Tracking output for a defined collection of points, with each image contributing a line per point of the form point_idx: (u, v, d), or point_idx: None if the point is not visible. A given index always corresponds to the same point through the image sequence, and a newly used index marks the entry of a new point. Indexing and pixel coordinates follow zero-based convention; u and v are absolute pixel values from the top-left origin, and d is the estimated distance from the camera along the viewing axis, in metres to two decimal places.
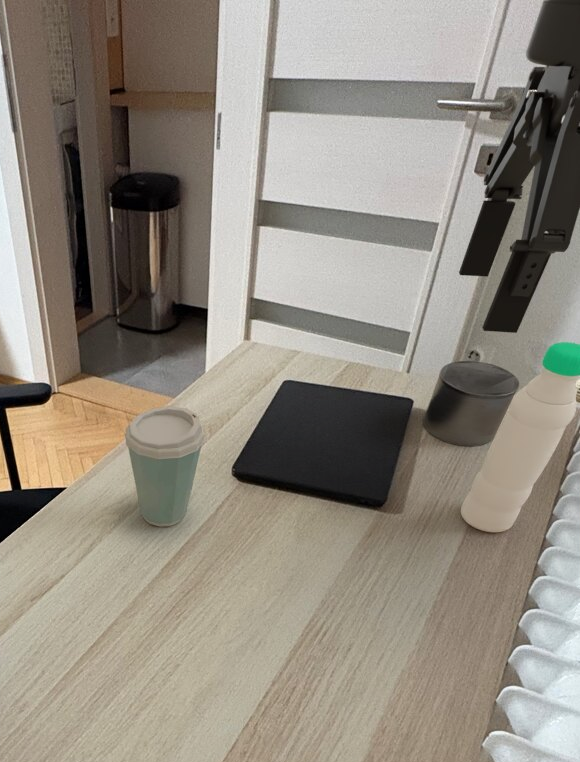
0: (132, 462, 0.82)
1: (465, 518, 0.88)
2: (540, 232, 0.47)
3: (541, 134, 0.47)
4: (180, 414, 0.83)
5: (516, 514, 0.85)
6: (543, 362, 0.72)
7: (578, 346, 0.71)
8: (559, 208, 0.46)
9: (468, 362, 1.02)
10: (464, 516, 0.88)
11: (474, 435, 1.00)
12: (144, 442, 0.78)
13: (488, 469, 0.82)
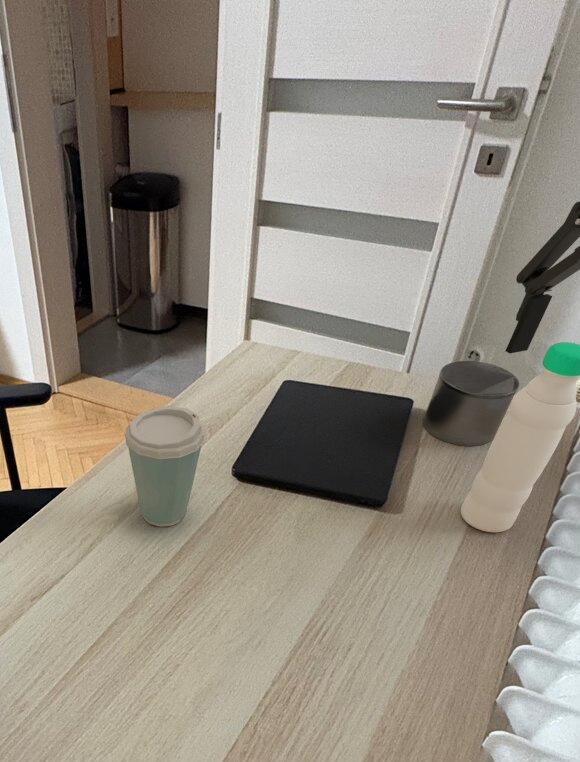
0: (132, 462, 0.82)
1: (465, 518, 0.88)
2: None
3: None
4: (180, 414, 0.83)
5: (516, 514, 0.85)
6: (543, 362, 0.72)
7: (578, 346, 0.71)
8: None
9: (468, 362, 1.02)
10: (464, 516, 0.88)
11: (474, 435, 1.00)
12: (144, 442, 0.78)
13: (488, 469, 0.82)
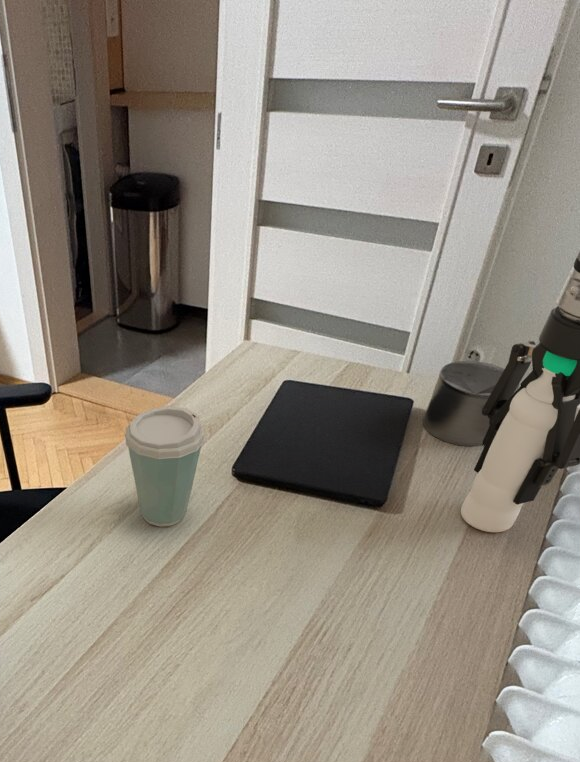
0: (132, 462, 0.82)
1: (465, 518, 0.88)
2: (567, 461, 0.73)
3: (560, 397, 0.72)
4: (180, 414, 0.83)
5: (516, 514, 0.85)
6: (543, 362, 0.72)
7: None
8: (579, 448, 0.73)
9: (468, 362, 1.02)
10: (464, 516, 0.88)
11: (474, 435, 1.00)
12: (144, 442, 0.78)
13: (488, 469, 0.82)
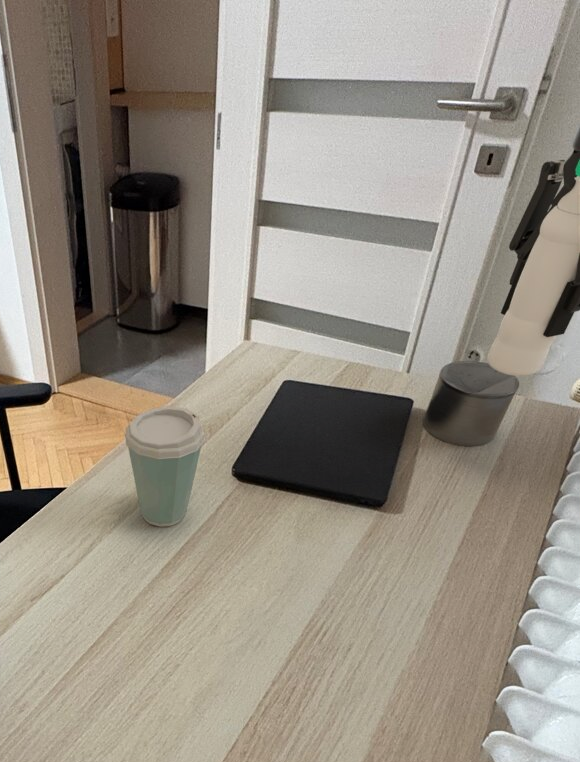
0: (132, 462, 0.82)
1: (492, 364, 0.86)
2: None
3: None
4: (180, 414, 0.83)
5: (545, 353, 0.83)
6: (576, 171, 0.71)
7: None
8: None
9: (468, 362, 1.02)
10: (491, 361, 0.86)
11: (474, 435, 1.00)
12: (144, 442, 0.78)
13: (517, 303, 0.80)
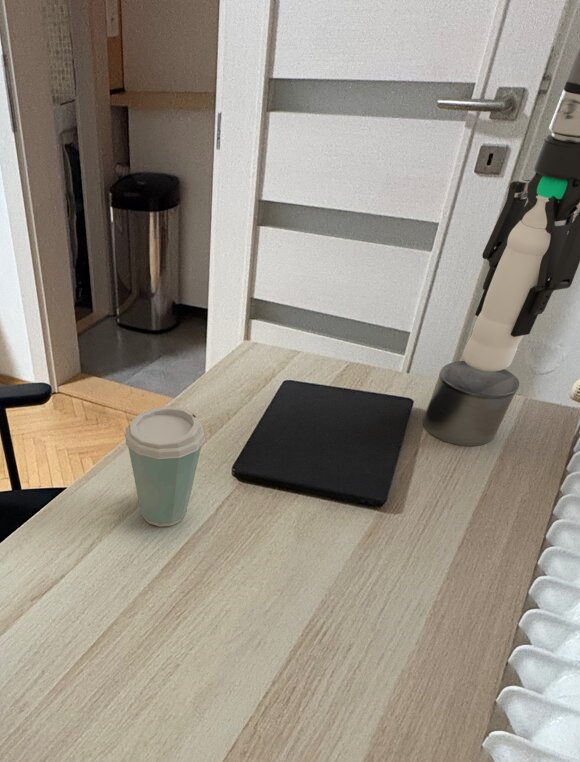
0: (132, 462, 0.82)
1: (467, 360, 0.96)
2: (559, 282, 0.82)
3: (553, 220, 0.80)
4: (180, 414, 0.83)
5: (513, 351, 0.93)
6: (537, 190, 0.81)
7: None
8: (569, 268, 0.81)
9: None
10: (466, 358, 0.96)
11: (474, 435, 1.00)
12: (144, 442, 0.78)
13: (487, 305, 0.90)
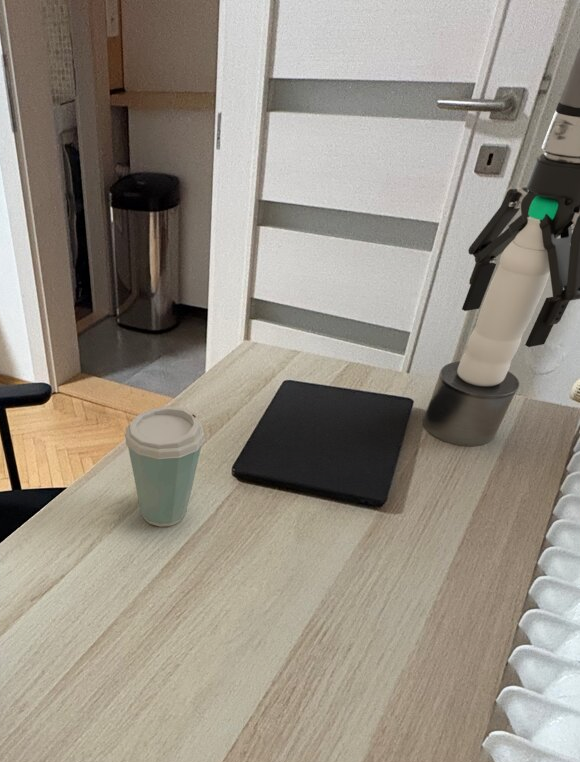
0: (132, 462, 0.82)
1: (461, 375, 0.98)
2: (575, 290, 0.80)
3: (551, 234, 0.81)
4: (180, 414, 0.83)
5: (506, 367, 0.95)
6: (528, 212, 0.82)
7: None
8: None
9: None
10: (460, 373, 0.98)
11: (474, 435, 1.00)
12: (144, 442, 0.78)
13: (481, 322, 0.92)
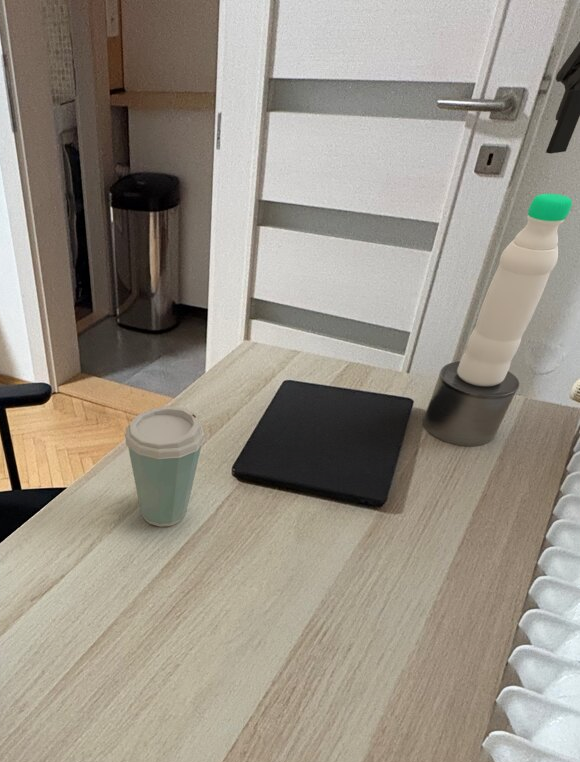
0: (132, 462, 0.82)
1: (461, 375, 0.98)
2: None
3: None
4: (180, 414, 0.83)
5: (506, 367, 0.95)
6: (528, 212, 0.82)
7: (559, 195, 0.81)
8: None
9: None
10: (460, 373, 0.98)
11: (474, 435, 1.00)
12: (144, 442, 0.78)
13: (481, 322, 0.92)
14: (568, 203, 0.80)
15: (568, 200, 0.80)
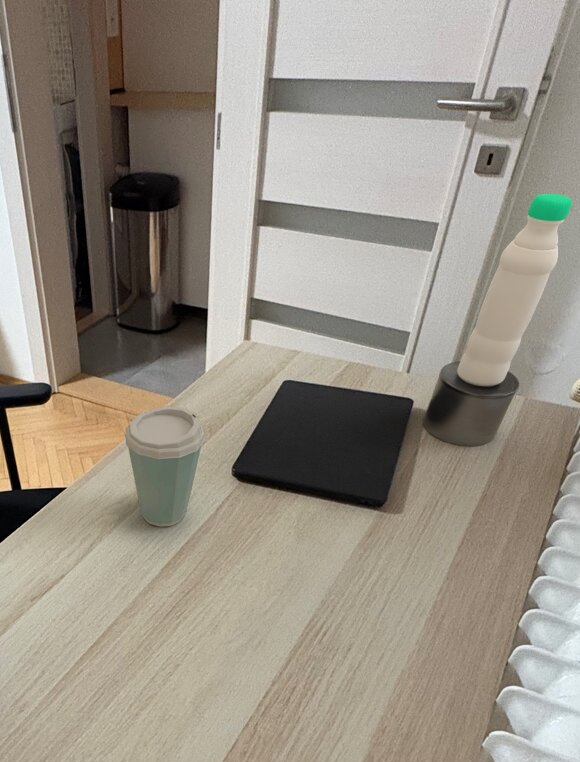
0: (132, 462, 0.82)
1: (461, 375, 0.98)
2: None
3: None
4: (180, 414, 0.83)
5: (506, 367, 0.95)
6: (528, 212, 0.82)
7: (559, 195, 0.81)
8: None
9: None
10: (460, 373, 0.98)
11: (474, 435, 1.00)
12: (144, 442, 0.78)
13: (481, 322, 0.92)
14: (568, 203, 0.80)
15: (568, 200, 0.80)
